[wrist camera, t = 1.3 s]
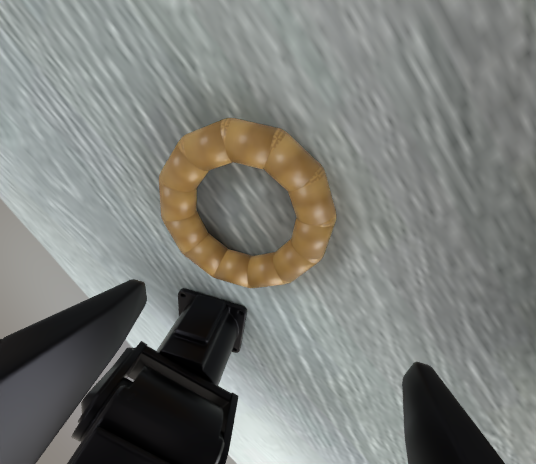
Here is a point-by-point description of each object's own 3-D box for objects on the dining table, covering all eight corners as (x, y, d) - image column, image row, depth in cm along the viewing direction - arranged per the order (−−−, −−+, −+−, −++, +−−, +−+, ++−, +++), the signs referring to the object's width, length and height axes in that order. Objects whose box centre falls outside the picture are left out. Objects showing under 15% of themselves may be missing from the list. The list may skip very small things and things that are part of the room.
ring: (309, 289, 22) (306, 312, 20) (173, 250, 23) (157, 268, 21) (359, 142, 15) (362, 152, 13) (168, 99, 17) (145, 103, 15)
